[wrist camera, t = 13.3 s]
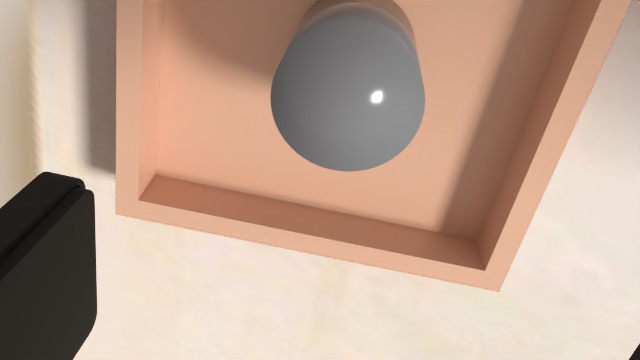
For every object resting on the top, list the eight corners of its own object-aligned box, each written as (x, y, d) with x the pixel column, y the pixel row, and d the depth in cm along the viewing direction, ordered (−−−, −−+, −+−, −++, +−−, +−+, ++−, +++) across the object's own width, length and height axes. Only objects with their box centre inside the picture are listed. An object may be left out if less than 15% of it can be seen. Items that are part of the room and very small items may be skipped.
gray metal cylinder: (430, 3, 22) (445, 46, 17) (396, 116, 24) (400, 185, 19) (307, -26, 22) (284, 9, 17) (286, 91, 24) (260, 153, 19)
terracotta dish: (658, -151, 19) (702, -154, 17) (487, 252, 28) (498, 292, 26) (152, -262, 19) (117, -283, 16) (139, 182, 28) (115, 214, 25)
